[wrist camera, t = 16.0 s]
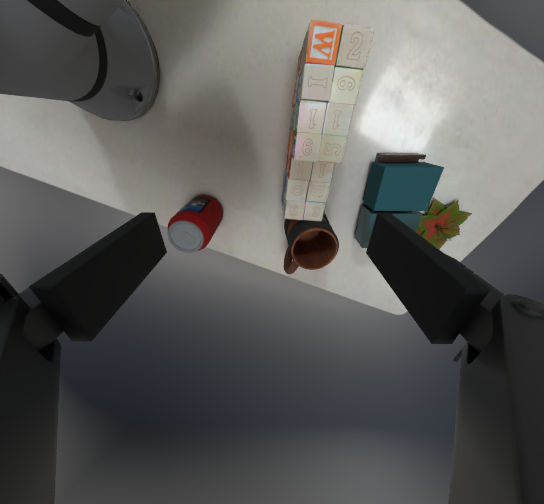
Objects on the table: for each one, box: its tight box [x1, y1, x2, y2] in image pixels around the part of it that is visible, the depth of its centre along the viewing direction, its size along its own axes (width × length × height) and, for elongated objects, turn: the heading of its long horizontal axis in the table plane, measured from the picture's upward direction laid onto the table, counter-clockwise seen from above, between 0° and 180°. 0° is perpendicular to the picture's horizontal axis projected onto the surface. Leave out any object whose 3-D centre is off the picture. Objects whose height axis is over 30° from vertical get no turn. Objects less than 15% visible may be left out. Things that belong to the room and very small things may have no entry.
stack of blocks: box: [282, 20, 374, 221], centre depth 30 cm, size 21×6×12 cm, turn 175°
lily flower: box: [416, 199, 472, 249], centre depth 41 cm, size 12×12×5 cm
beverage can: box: [168, 195, 223, 252], centre depth 37 cm, size 7×7×12 cm
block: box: [363, 162, 444, 211], centre depth 36 cm, size 7×9×5 cm
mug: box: [284, 213, 339, 274], centre depth 39 cm, size 9×12×12 cm
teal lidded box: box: [355, 153, 426, 248], centre depth 38 cm, size 17×9×6 cm, turn 0°
